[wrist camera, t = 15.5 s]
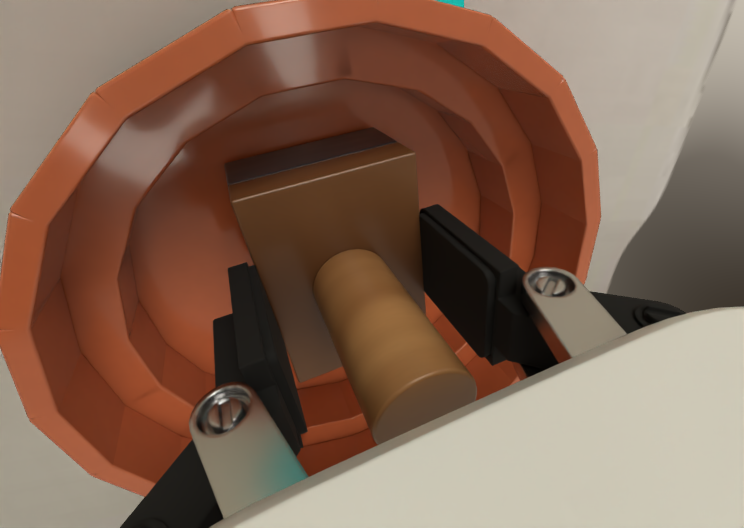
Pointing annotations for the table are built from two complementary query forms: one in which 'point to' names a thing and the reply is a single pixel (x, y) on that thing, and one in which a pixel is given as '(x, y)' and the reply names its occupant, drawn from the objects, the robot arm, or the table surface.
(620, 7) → the table surface
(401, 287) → the stamp
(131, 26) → the table surface
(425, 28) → the bowl
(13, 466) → the table surface
